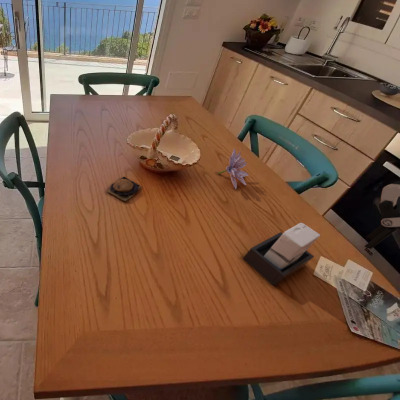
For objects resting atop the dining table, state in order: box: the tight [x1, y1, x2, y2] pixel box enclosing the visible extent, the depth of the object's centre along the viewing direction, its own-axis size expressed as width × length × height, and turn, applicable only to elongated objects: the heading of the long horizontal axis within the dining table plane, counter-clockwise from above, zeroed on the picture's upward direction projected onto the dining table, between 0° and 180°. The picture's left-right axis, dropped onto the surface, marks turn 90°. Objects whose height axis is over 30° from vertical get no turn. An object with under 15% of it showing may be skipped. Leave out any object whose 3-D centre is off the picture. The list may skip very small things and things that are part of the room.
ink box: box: [264, 222, 321, 271], centre depth 68 cm, size 9×5×12 cm, turn 118°
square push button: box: [107, 176, 141, 202], centre depth 90 cm, size 11×8×4 cm
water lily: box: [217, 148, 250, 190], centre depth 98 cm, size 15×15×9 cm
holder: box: [242, 231, 315, 287], centre depth 71 cm, size 9×13×5 cm
